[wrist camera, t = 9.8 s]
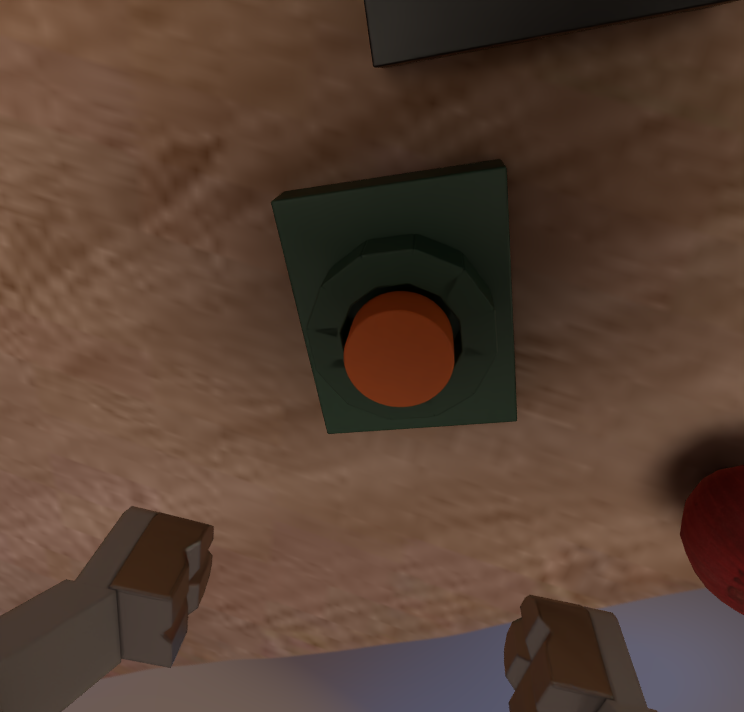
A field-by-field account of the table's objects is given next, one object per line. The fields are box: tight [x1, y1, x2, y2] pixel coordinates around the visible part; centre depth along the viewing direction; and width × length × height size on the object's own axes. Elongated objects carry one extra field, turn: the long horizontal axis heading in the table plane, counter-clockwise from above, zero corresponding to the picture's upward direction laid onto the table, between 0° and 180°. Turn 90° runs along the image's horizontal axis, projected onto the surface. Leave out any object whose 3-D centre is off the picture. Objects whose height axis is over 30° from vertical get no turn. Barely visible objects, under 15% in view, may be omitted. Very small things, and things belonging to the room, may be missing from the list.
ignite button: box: [344, 291, 454, 407], centre depth 18 cm, size 4×4×2 cm
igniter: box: [271, 159, 517, 434], centre depth 20 cm, size 10×8×4 cm
